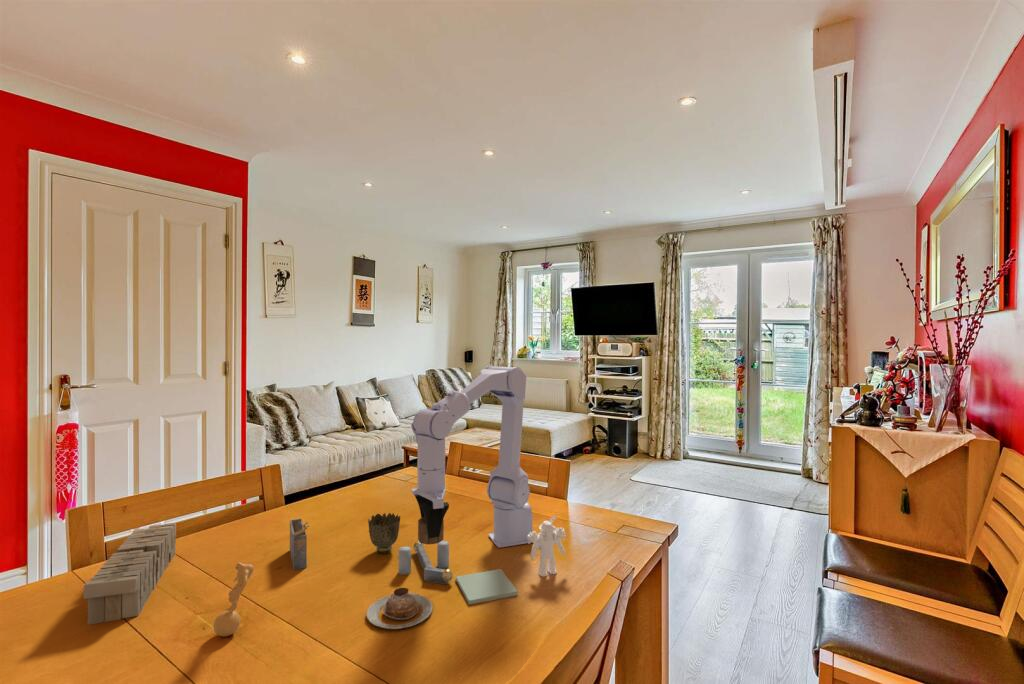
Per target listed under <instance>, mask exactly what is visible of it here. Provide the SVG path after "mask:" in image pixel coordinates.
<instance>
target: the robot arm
mask: <svg viewBox="0 0 1024 684" xmlns="http://www.w3.org/2000/svg"><path fill="white" fill-rule="evenodd" d="M526 386H527V375H526V373H524V371H523V370H522V369H521V368H520V367H518V366H515V367H513V366H512V367H511V366H497V365H496V366H494V365H487V366H485V367H484V368H482V369H481V370H480V371H479V374H478V376H476V378H474V379H473V381H471V382H470V383H469V384H468V385H467V386H465V387H464V388H463V389H462V390H461V391H458V390H454V391H453V390H449V391H448V392H446V396H445V397H443V398H442V399H440V400H439V401H438V402H434V403H432V406H431V407H429V409H428V408H423V409H420V410H419V411H418V412H417V413H416V414H415V415H414V417H413V420H412V423H411V424H410V426H411V430H412V432H413V434H414V435H415V443H416V444H417V461H416V463H417V466H416V467H417V478H416V479H417V480H416V481H417V483H416V484H417V487H415V488H411V494H412V495H414V498H415V499H416V501H417V504H418V508H419V513H420V519H421V518H422V517H425V520H426V526H427V533H428V536H429V538H435V537H439V535H440V531H441V527H442V522H443V520H444V519H445V515H446V514H447V512H448V510H449V508H450V504H449V501H448V502H447V501H446V502H445V499H444V497H445V494H446V492H447V486H446V438H447V437H448V436H449V435H450V433H451V431H452V427H453V426H454V425H455V423H456V422H457V421H459V420H460V419H461V418H463V417H464V416H465V415H467V413H469V411H470V410H471V409H470V408H471V404H472V403H474V402H475V401H476V400H478V399H481V397H483V396H484V395H486V394H488V393H490V394H492V395H493V396H495V397H496V398H498V400H499V401H500V402H501V405H502V407H501V408H502V409H501V423H500V425H501V426H500V441H499V453H498V465H497V466H495V468H494V469H492V470H491V471H490V475H489V480H488V483H487V486H486V493H487V497H488V498H489V500H491V505H493V532H492V533H488V537H489V538H490V539H491V541H492V542H493V543H494V544H495V546H496V547H497V548H499V549H500V548H505V547H513V546H518V545H526V544H528V541H529V542H530V540H529V539H528V538H527V535H528V534H529V533H530V532H531V533H532V532H534V531H533V528H534V527H533V525H534V524H533V519H534V518H533V516H534V515H533V511H532V507H531V505H530V503H529V502H528V501H529V498H530V493H531V491H530V485H529V475H528V474H527V472H525V471H524V470H523V469H522V467H521V465H520V463H521V451H522V450H521V449H522V434H523V433H522V432H523V419H524V418H523V417H524V403H525V402H524V401H525V399H526ZM532 543H533V542H532V541H531V542H530V544H532Z"/></svg>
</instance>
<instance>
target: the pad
mask: <svg viewBox="0 0 1024 684" xmlns="http://www.w3.org/2000/svg"><path fill="white" fill-rule="evenodd" d="M455 581H456V583H457V585H458V587H459V589H460V590H461V592H462V595H463V596H464V598H465V600H466V602H467V604H468V605H474V604H479V603H485V602H490V601H494V600H501V599H504V598H505V599H506V598H511V597H515V596H518V590H517V588H516V587H515V586H514V585H513V583H512V582H511V581H510V579H509V578H508V577H507V575H506V574H505V573H504V572H503V570H502V569H501V568H497V569H493V570H487V571H482V572H481V571H480V572H475V573H470V574H463V575H457V576H455Z"/></svg>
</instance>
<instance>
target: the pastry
mask: <svg viewBox="0 0 1024 684" xmlns="http://www.w3.org/2000/svg"><path fill="white" fill-rule="evenodd" d="M418 606H419V607H420V609H421V613H420V615H419V616H418V617H417V618H416V619H414V620H411V621H409V622H407V623H402V624H389V623H385V622H383V621H382V620H380V618H379V615H380V611H382V615H385V616H386V617H388V618H390V619H392V620H395V621H404V620H410V619H412V618H413V617H415V615H416V614H418V612H419V607H418ZM433 608H434V606H433V603H432V601H431V600H430V599H428V598H427V597H426V596H424V595H420V594H418V593H414V592H413V593H412V592H409V588H408V587H399V588H396V589H395V590H394V591H393V593H392V594H390V595H386V596H383V597H380V598H378V599H377V600H376V601H374V602H373V603H372V604H370V606H369V607H368V609H367V611H366V618H367V620H368V622H369V623H371V624H372V625H373V626H376V627H379V628H382V629H387V630H399V629H405V628H409V627H414V626H416V625H417V624H420V623H422V622H423V621H425V620H426V619H427V618H429V616H430V615H431V614H432V611H433Z"/></svg>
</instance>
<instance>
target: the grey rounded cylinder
mask: <svg viewBox="0 0 1024 684" xmlns="http://www.w3.org/2000/svg"><path fill="white" fill-rule="evenodd" d="M411 572H412V549H411V547H409V546H401V547H399V548H398V574H399V575H402V576H407V575H409V574H410V573H411Z"/></svg>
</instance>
